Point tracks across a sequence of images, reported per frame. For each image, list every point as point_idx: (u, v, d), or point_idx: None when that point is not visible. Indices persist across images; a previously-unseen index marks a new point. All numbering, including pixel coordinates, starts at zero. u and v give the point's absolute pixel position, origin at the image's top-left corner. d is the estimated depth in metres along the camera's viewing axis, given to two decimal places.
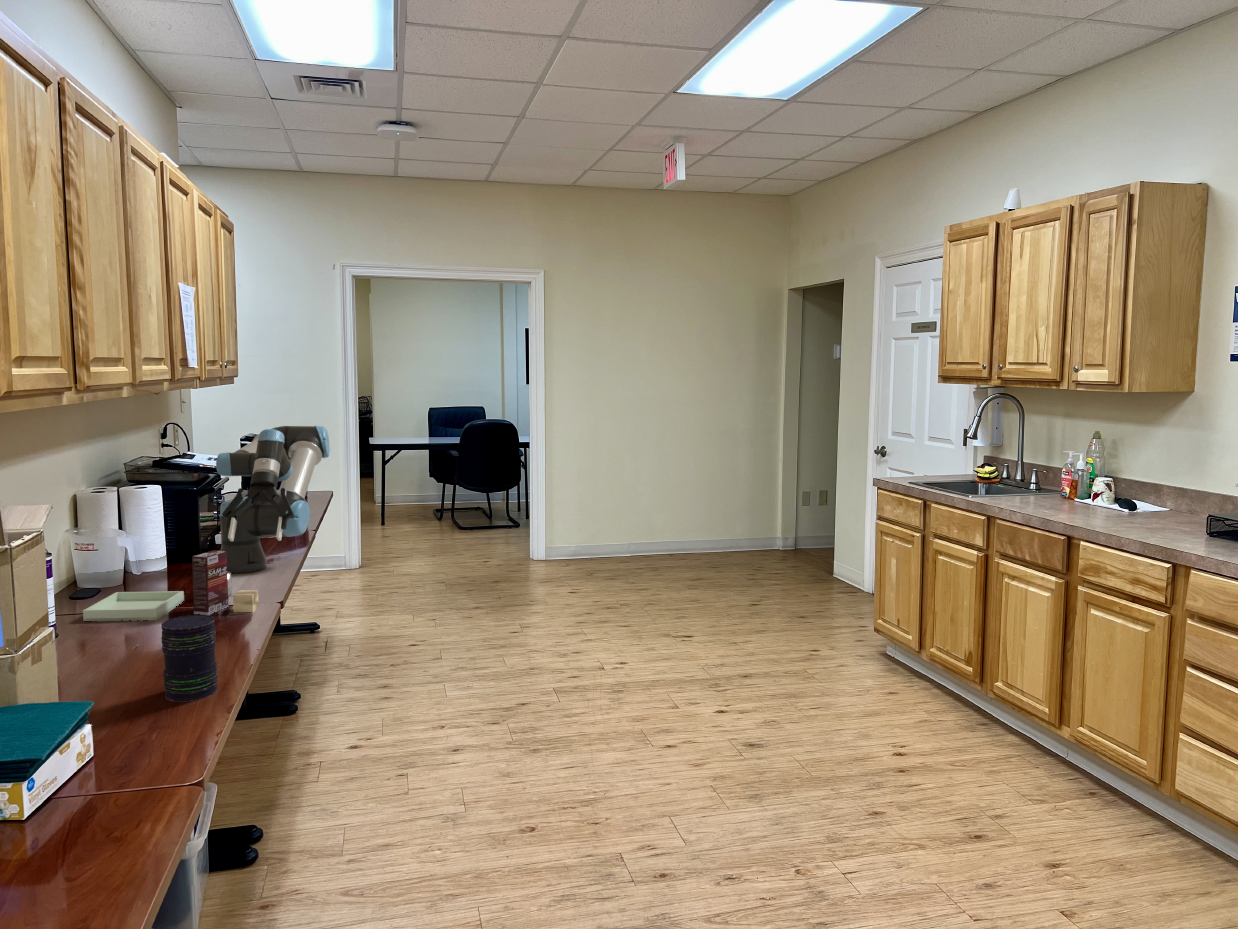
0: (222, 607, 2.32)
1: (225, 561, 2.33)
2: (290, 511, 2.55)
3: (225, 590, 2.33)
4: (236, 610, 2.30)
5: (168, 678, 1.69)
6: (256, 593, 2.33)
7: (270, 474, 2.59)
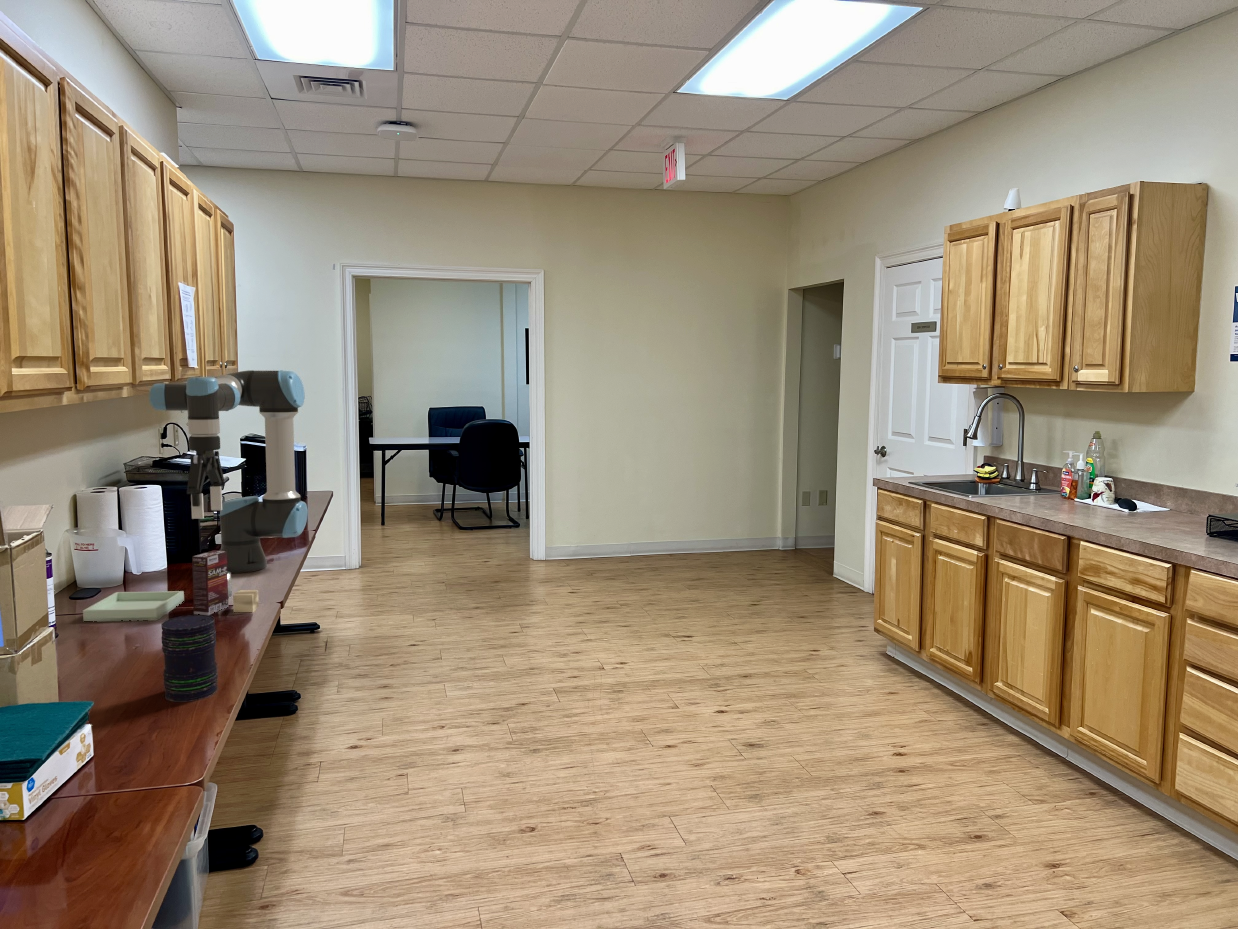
0: (222, 607, 2.32)
1: (225, 561, 2.33)
2: None
3: (225, 590, 2.33)
4: (236, 610, 2.30)
5: (168, 678, 1.69)
6: (256, 593, 2.33)
7: (189, 439, 2.23)
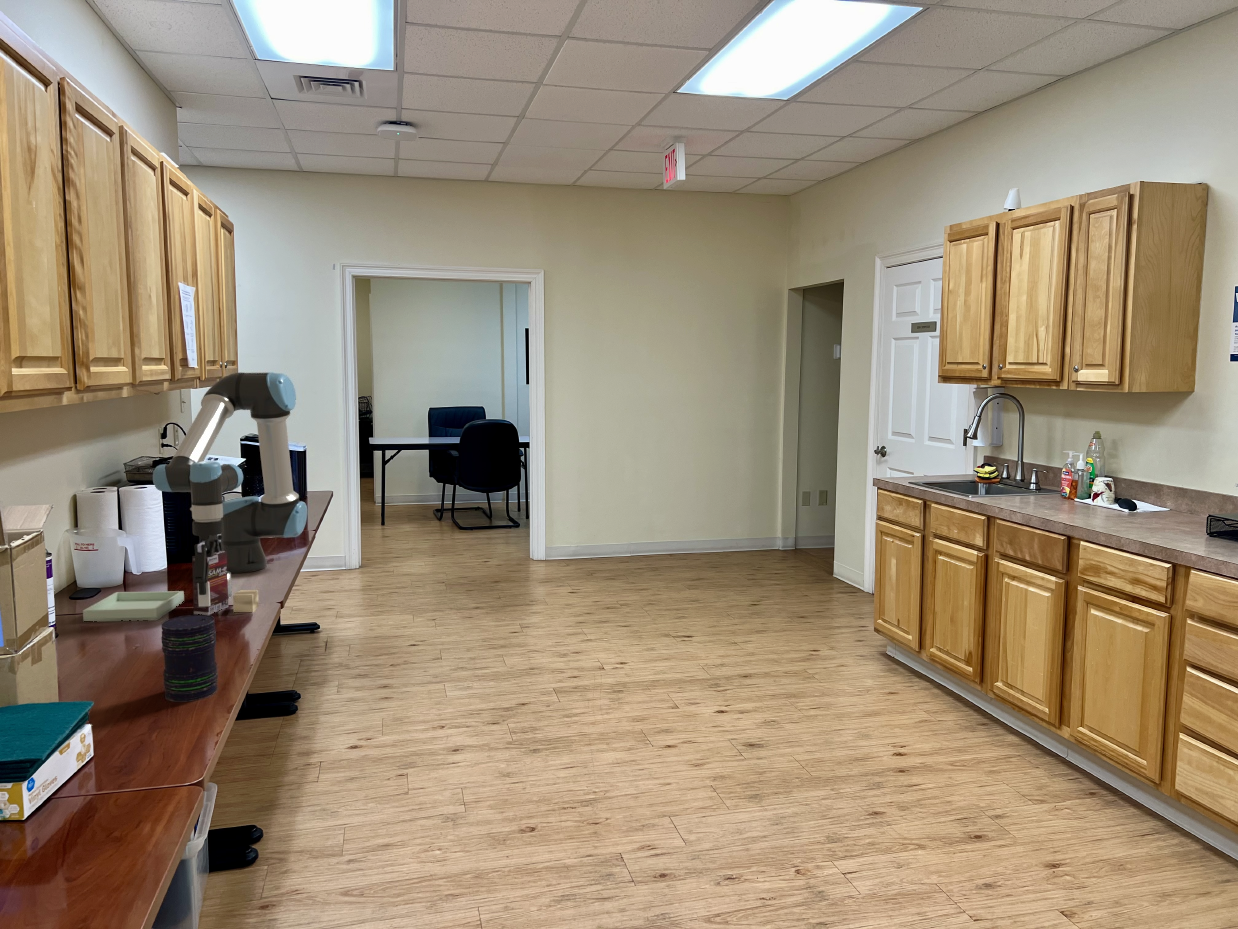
0: (222, 607, 2.32)
1: (225, 561, 2.33)
2: None
3: (225, 589, 2.33)
4: (236, 610, 2.30)
5: (168, 678, 1.69)
6: (256, 593, 2.33)
7: (193, 525, 2.26)
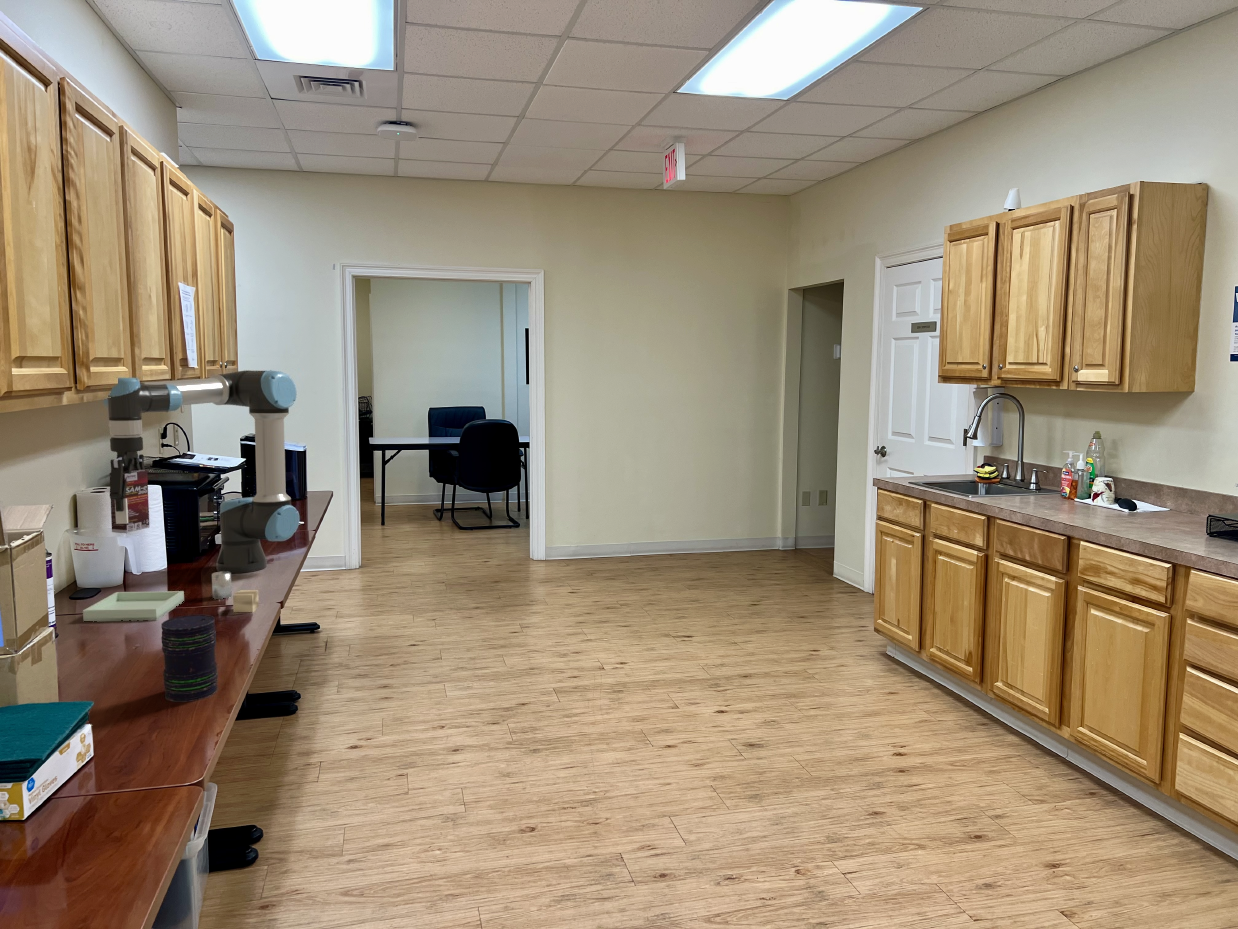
0: (142, 526, 2.29)
1: (145, 480, 2.29)
2: None
3: (146, 509, 2.30)
4: (236, 610, 2.30)
5: (168, 678, 1.69)
6: (256, 593, 2.33)
7: (110, 440, 2.22)
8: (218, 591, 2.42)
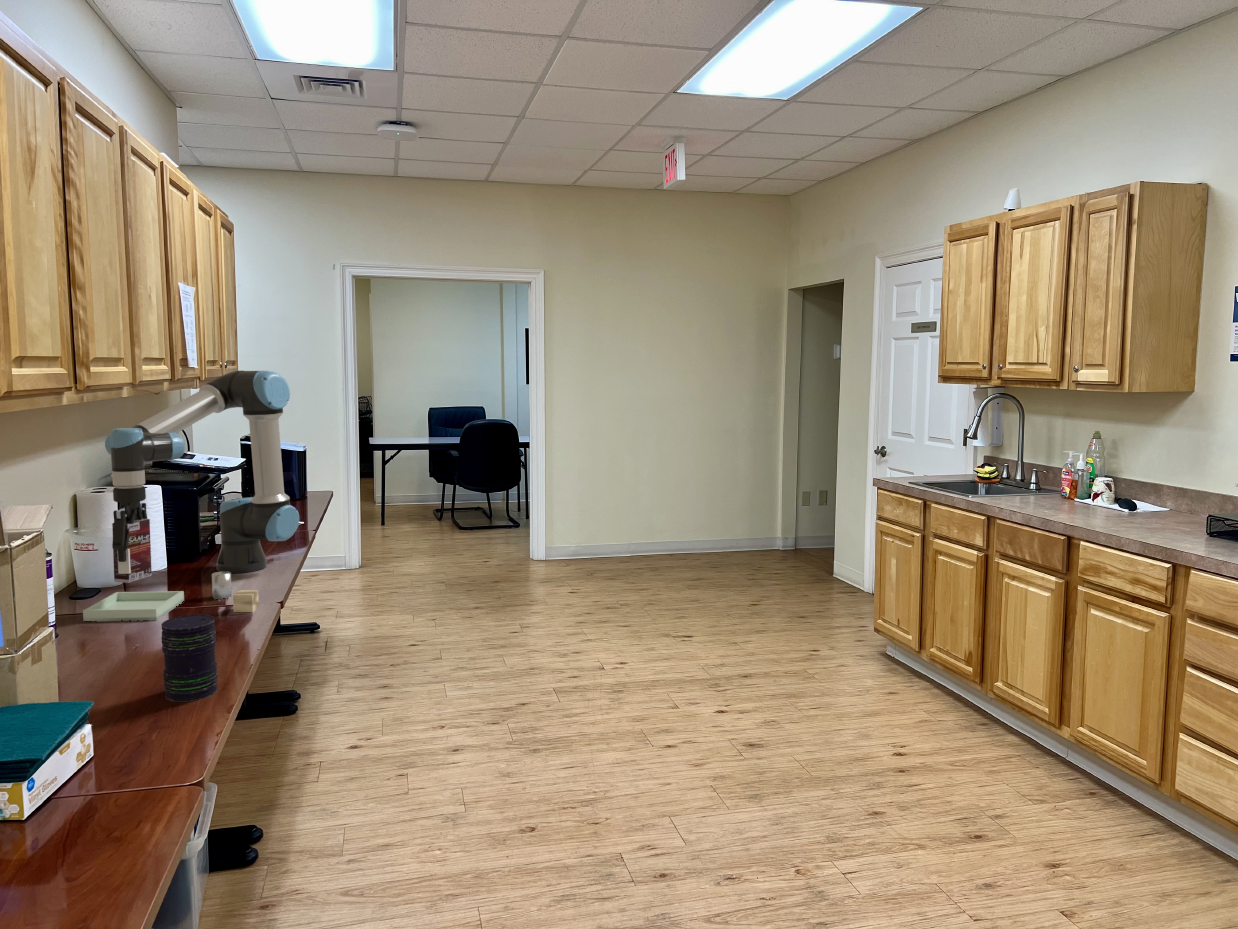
0: (144, 575, 2.30)
1: (148, 529, 2.30)
2: None
3: (148, 558, 2.31)
4: (236, 610, 2.30)
5: (168, 678, 1.69)
6: (256, 593, 2.33)
7: (113, 491, 2.24)
8: (218, 591, 2.42)
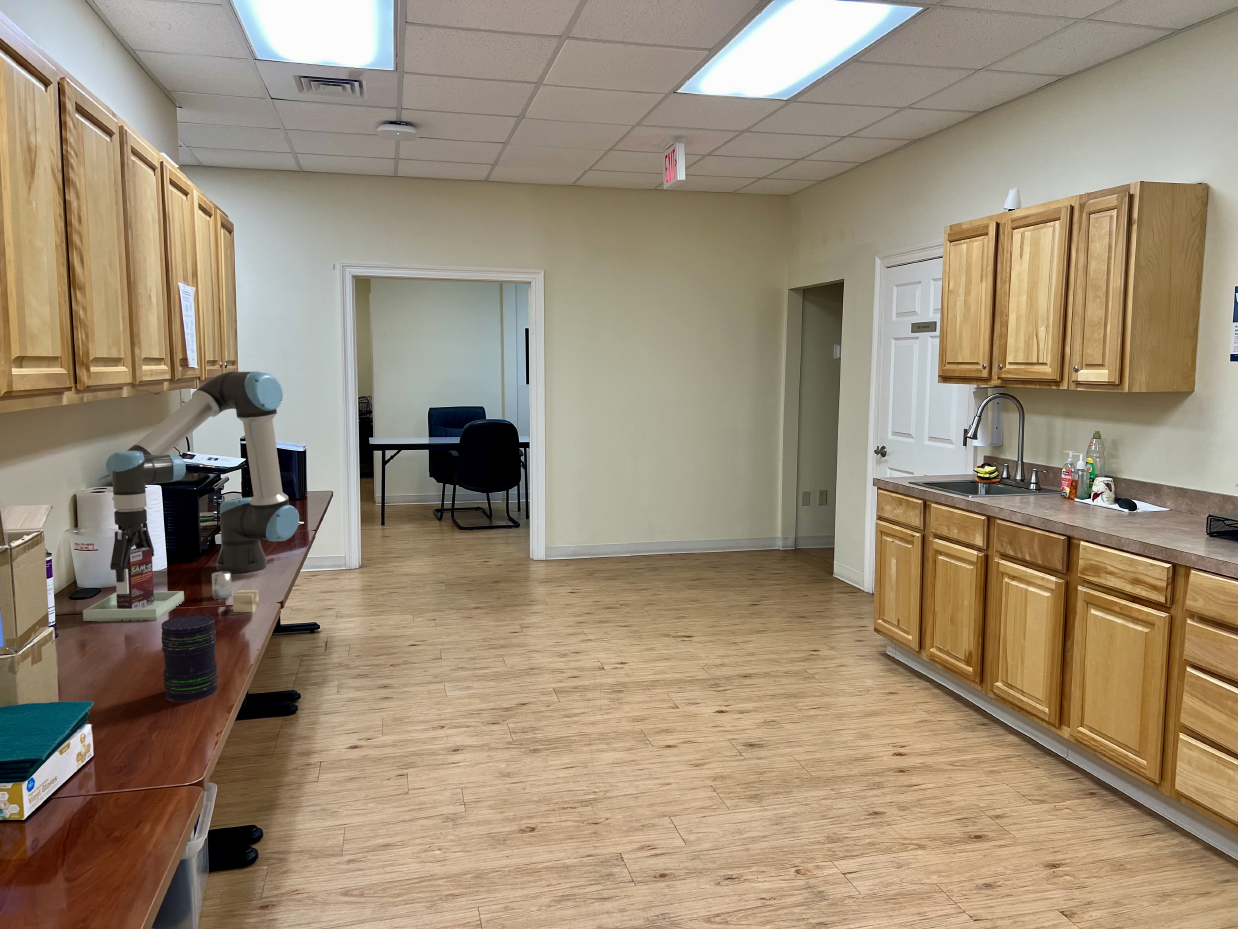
0: (147, 604, 2.31)
1: (150, 558, 2.32)
2: None
3: (150, 587, 2.32)
4: (236, 610, 2.30)
5: (168, 678, 1.69)
6: (256, 593, 2.33)
7: (115, 514, 2.24)
8: (218, 591, 2.42)
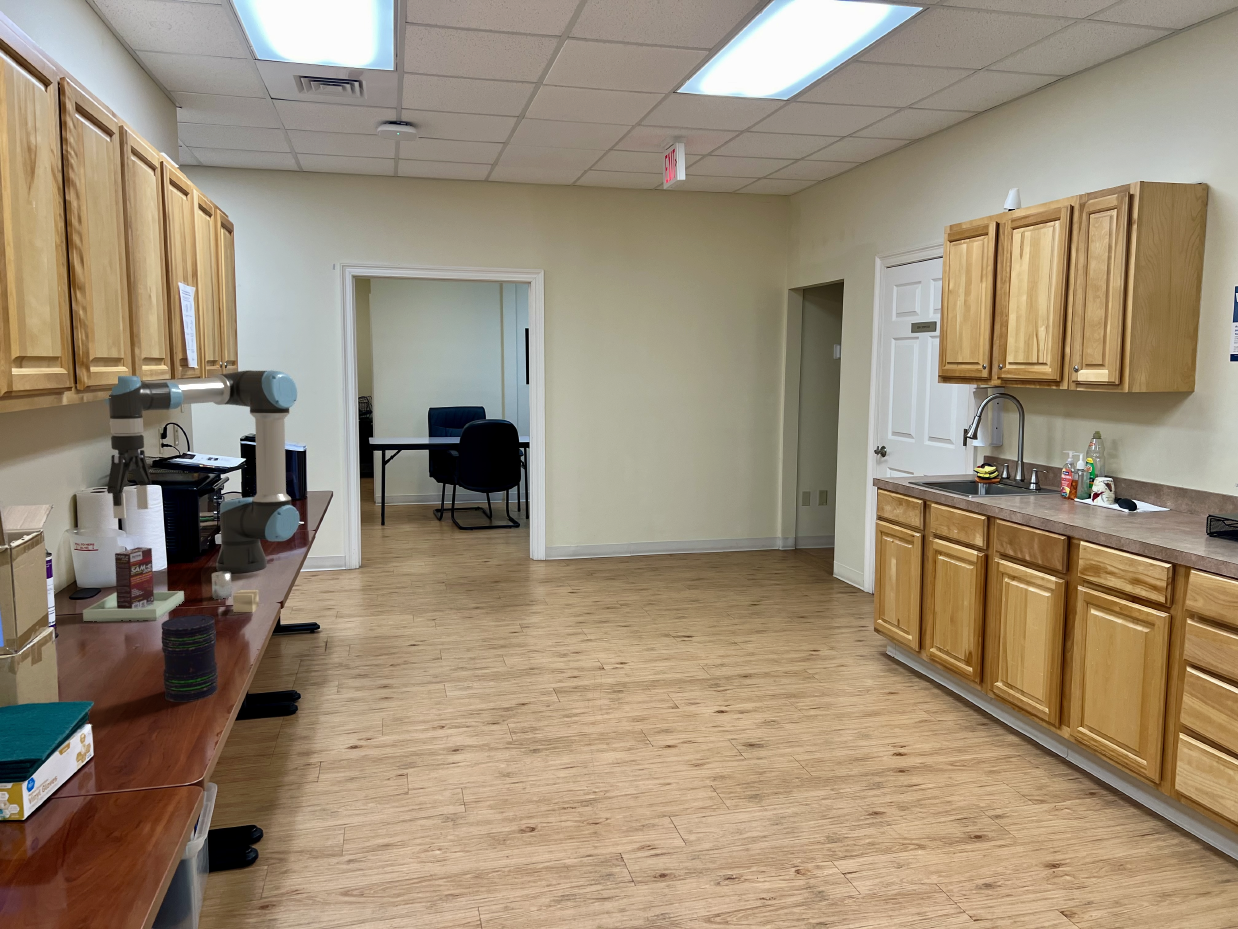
0: (147, 604, 2.31)
1: (150, 558, 2.32)
2: None
3: (150, 587, 2.32)
4: (236, 610, 2.30)
5: (168, 678, 1.69)
6: (256, 593, 2.33)
7: (111, 439, 2.22)
8: (218, 591, 2.42)
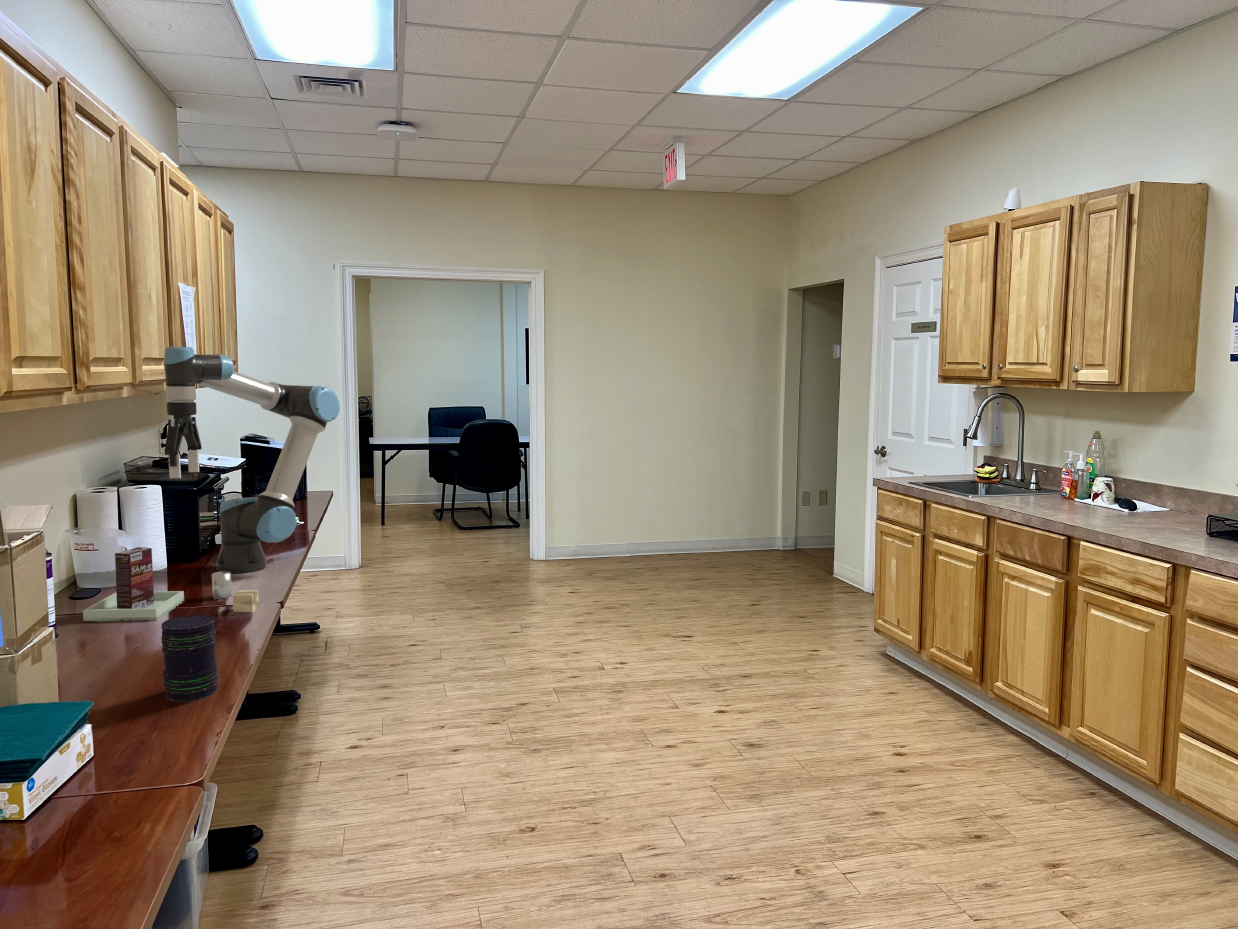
0: (147, 604, 2.31)
1: (150, 558, 2.32)
2: None
3: (150, 587, 2.32)
4: (236, 610, 2.30)
5: (168, 678, 1.69)
6: (256, 593, 2.33)
7: (167, 405, 2.41)
8: (218, 591, 2.42)
